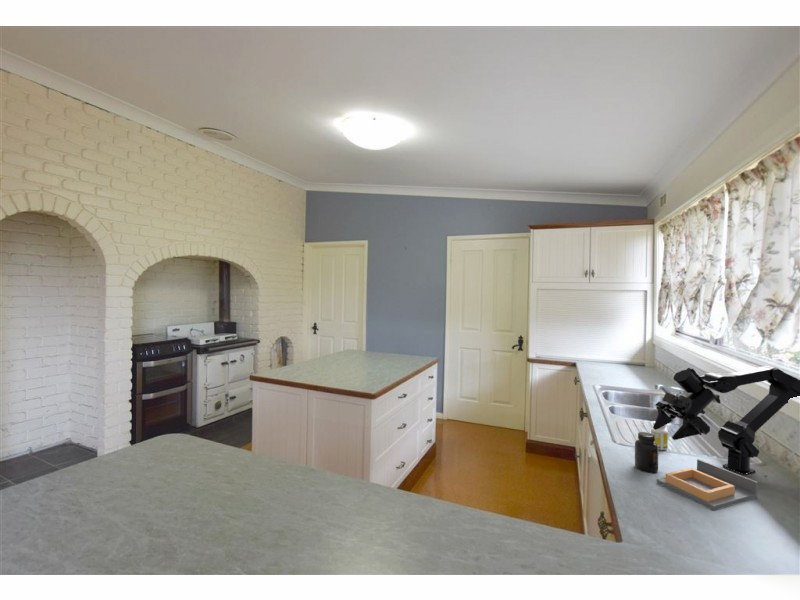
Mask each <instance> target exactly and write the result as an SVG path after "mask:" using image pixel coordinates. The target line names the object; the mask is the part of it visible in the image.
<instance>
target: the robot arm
mask: <svg viewBox="0 0 800 600" xmlns="http://www.w3.org/2000/svg"><path fill="white" fill-rule="evenodd" d="M673 381H674V382H676V384H677V385H678V386H679V387H680V389H682V390H683V391H684V392H685V393H687V394H688V395H687V396H684V395H679V396H678V395H676V394H675V395H674V394H672V393H669V392H667V391H666V392H665V393H664V395H663V398H662V401H659V400H658V402H657V403H656V404H654V405H655V408H656V410H657V416H656V419H655V420H654V421H655V424H654V426H653V425H652V427H653V428H654V429H655V430H657V429H659V428H661V427H663V426H664V425H668V424H670V423H671V422H673V421H674V419H676V418H677V419H680V420H682V425H681V426H680V427H679V428H678V429H677V431H675V433H674V434H673V435H672V436H671V439H672V440H673V441H676V440H680V439H683V438H689V437H693V436H701V435H704V436H706V435H708V434H709V432H711V427H710V425H709V424H708V423H707V422H706V421H705V420H704V419H703V418H702V417H701V416H699V415H700V414H701V415H705V414H706V412H705V409H706V408H707V407H708V406H709V405H711V403H712V402H714V403H716V404H721V399H720V397H721V396H720V395H719V394H716V393H714V392H717V393H721V394H727V393H729V392H732V391H736V389H738V387H741V386H745V385H751V384H755V383H761V382H765V381H766V382H767V383H768V384H769V388H768V391H769V392H768V393H767V395H766V396H765V397H763V398H762V399H761V400H760V401H759V402H758V403H757V404H756V405H755V406H754V407H753V408H752V409H750V410H749V412H747V413H746V414H745V415H744V416H743V417H742V418H741V419H740V420H738V421H736V422H733V421H731V420H727V421H726V422H725V423H724V424H723V425H721V426H720V427H719V431H717V435H718V436H717V437H718V440H719V441H720V443H721V446H722V447H723V448H725V449H727V450H728V451H727V463H725V464H722V468H725V467H726V468H725V469H728V468H729V469H728V470H731V469H732V470H731V471H733V470H735V471H734V472H736V471H737V472H736V473H738V472H740V473H739V474H741V473H743V474H742V475H744V474H745V475H747V474H746V473H749V474H751V473H750V472H753V471H756V470H755V469H753V468H752V467H751V458H753V459H754V458H757V457H758V456H759V454H760V450H759V449H758V448H757V447H756V446H755V445H754V444H753V443H754V442H755V438H756V432H757V431H758V430H760V428H761V427H762V426H764V425H765V424H766V423H767V422H768V421H770V419H772V417H774V416H775V414H777V413H778V412H779V411H780V410H781V409H782V408H783V407H784V406H785V405H787V404H789V403H788V400H789V399H790V398H793V397H797V396H800V379H798V378H797V377H795V376H792V375H790V374H788V373H786V372H784V371H783V370H781V369H779V368H778V367H774V366H769V365H762V366H759V367H756V368H755V367H754V368H751V369H750V368H749V369H745V370H740V371H739V370H738V371H733V372H730V373H729V372H707V373H704V375H699V374H698V373H697V372H696V370H695V369H694V368H691V367H687V368H686V369H683V370H680V371H677V372H675V373H674V375H673ZM713 391H714V392H713ZM753 473H754V472H753Z"/></svg>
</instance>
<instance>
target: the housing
mask: <svg viewBox="0 0 800 600" xmlns="http://www.w3.org/2000/svg"><path fill="white" fill-rule="evenodd" d="M696 459H697V458H696ZM696 461H697V462H696V469H695V468H693V467H689V468H685V469H679V470H677V471H672V472H668V473H665V475H664V477H660V478H657V479H656V484H658V485H661V486H662V487H664V488H667V489H669V490H670V491H673V492H675V493H676V494H679V495H681V496H684V497H685V498H687V499H689V500H691V501H693V502H695V503H697V504H699V505H701V504H702V505H701V506H703V505H704V506H703V507H705V506H706V507H705V508H707V509H709V508H710V510H711V511H716V510H717V511H718V510H719V509H723V508H727V507H729V506H734V505H736V504H740V503H743V502H747V501H751V500H754V499H757V498H758V485H759V484H758V481H757V480H754V479H751V478H749V477H746V476H743V475H742V474H740V473H739V474H738V473H737V472H736V473H735V472H734V471H732V470H729V469H727V468H724V467H720V466H717V465H715V464H713V463H711V462H707V461H704V460H703V459H699V458H698V459H697V460H696Z"/></svg>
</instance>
